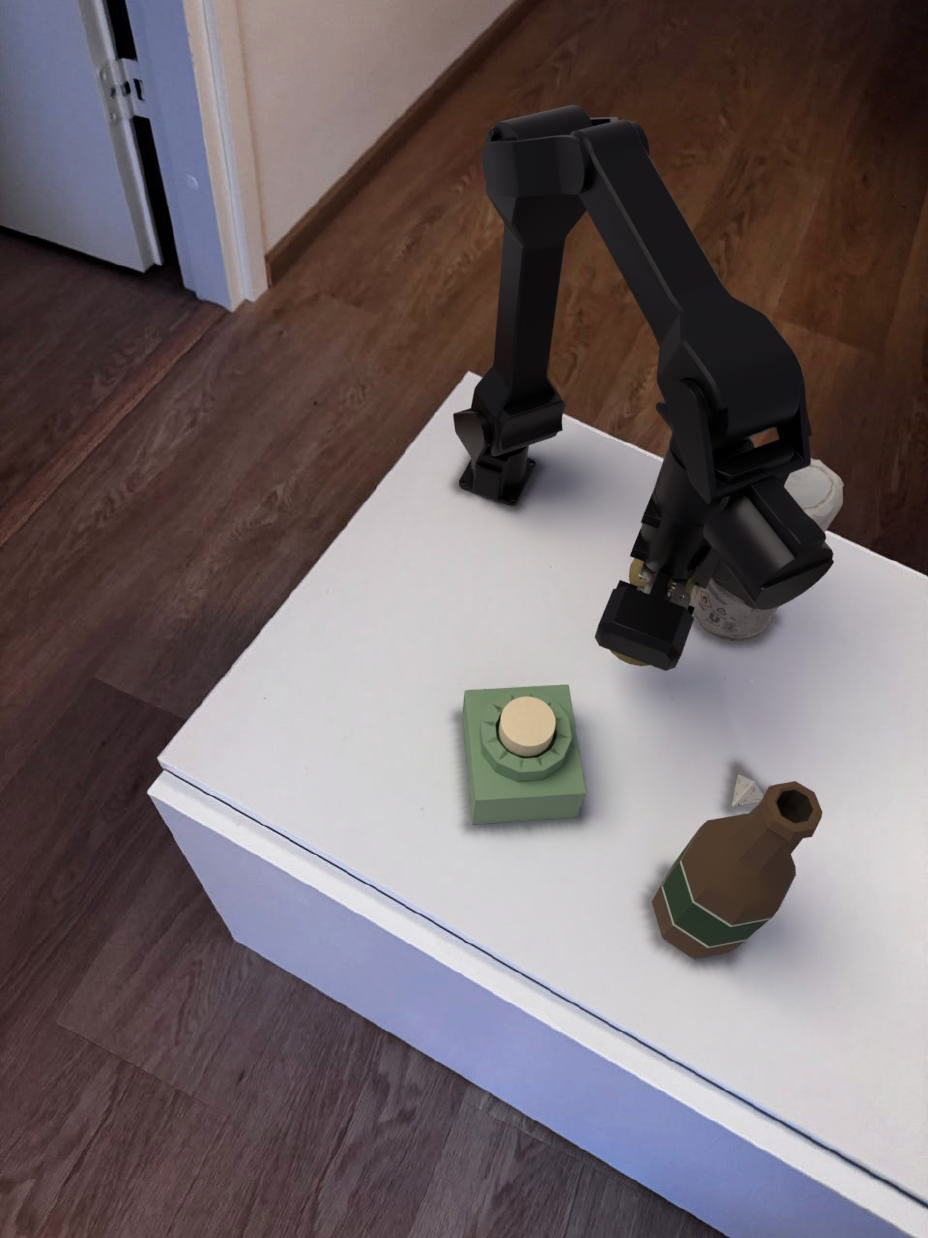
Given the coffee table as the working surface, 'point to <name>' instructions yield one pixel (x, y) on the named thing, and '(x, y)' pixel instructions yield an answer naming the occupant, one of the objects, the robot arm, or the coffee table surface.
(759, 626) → the spray can
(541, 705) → the beige push button
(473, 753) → the green button housing
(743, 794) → the white speckled wedge
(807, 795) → the beer bottle
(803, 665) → the coffee table surface
